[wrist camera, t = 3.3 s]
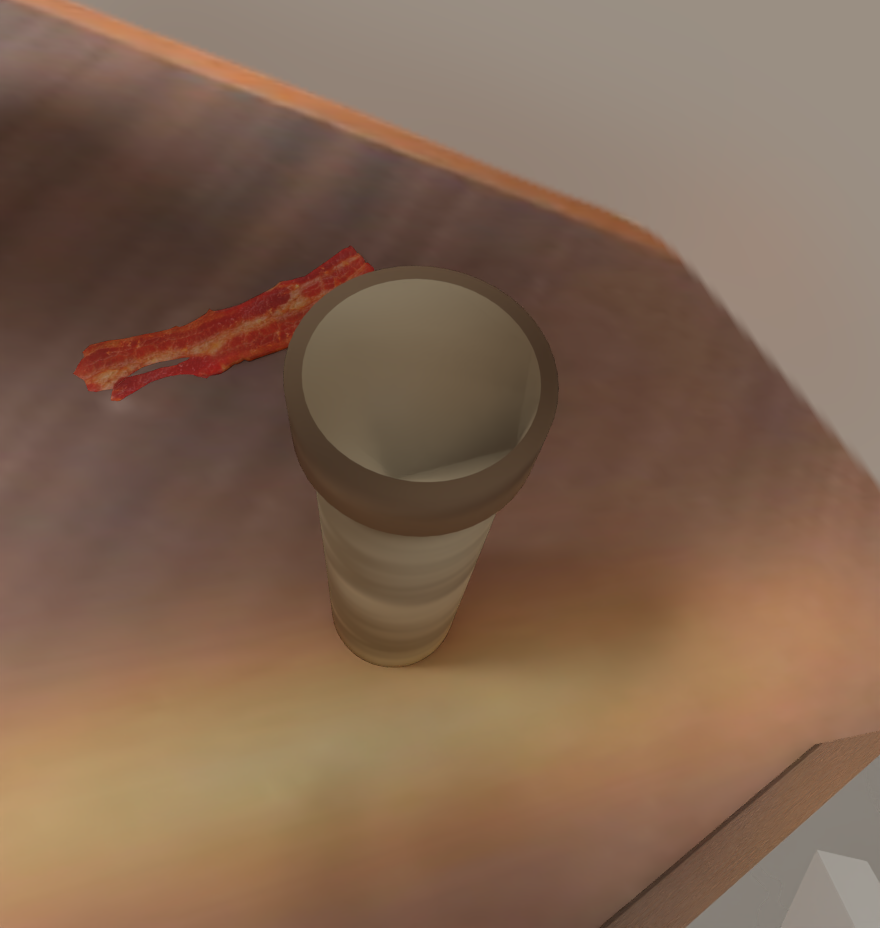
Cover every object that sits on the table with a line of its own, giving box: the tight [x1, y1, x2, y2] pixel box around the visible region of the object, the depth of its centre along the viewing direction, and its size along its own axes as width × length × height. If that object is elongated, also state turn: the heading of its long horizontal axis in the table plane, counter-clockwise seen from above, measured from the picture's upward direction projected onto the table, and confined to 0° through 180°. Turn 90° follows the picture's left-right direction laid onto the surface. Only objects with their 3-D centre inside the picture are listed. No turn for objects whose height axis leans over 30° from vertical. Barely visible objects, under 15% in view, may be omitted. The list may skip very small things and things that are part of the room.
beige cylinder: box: [283, 266, 559, 667], centre depth 19 cm, size 5×5×14 cm
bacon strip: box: [73, 246, 374, 401], centre depth 29 cm, size 4×15×1 cm, turn 123°
